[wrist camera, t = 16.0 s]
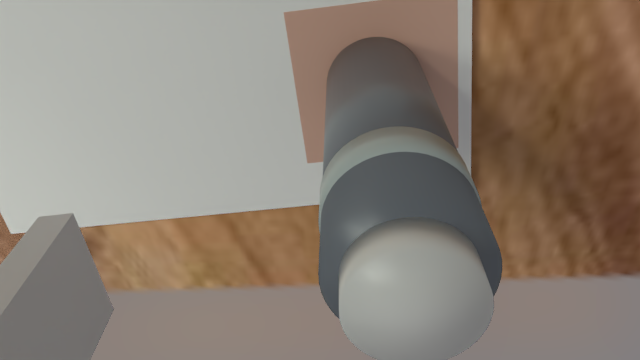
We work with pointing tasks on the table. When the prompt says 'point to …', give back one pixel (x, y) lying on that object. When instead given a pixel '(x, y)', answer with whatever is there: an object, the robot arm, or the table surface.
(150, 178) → the paper
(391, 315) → the marker
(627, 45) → the table surface
